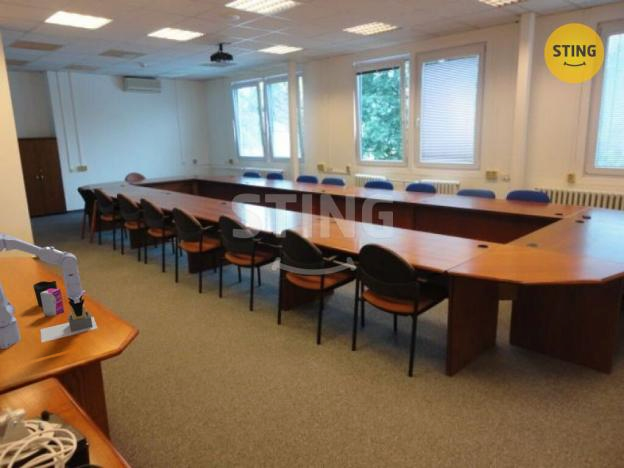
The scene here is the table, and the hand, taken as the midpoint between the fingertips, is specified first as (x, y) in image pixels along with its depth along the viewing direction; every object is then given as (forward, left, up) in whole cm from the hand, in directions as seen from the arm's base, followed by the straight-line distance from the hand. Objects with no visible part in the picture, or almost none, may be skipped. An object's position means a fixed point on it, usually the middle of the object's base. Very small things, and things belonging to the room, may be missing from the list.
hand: (78, 313), depth 182 cm
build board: (-3, +4, -6) cm, 8 cm away
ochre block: (0, 0, -2) cm, 2 cm away
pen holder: (+27, +33, -7) cm, 43 cm away
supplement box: (+14, +21, -7) cm, 26 cm away
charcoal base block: (0, 0, -5) cm, 5 cm away
